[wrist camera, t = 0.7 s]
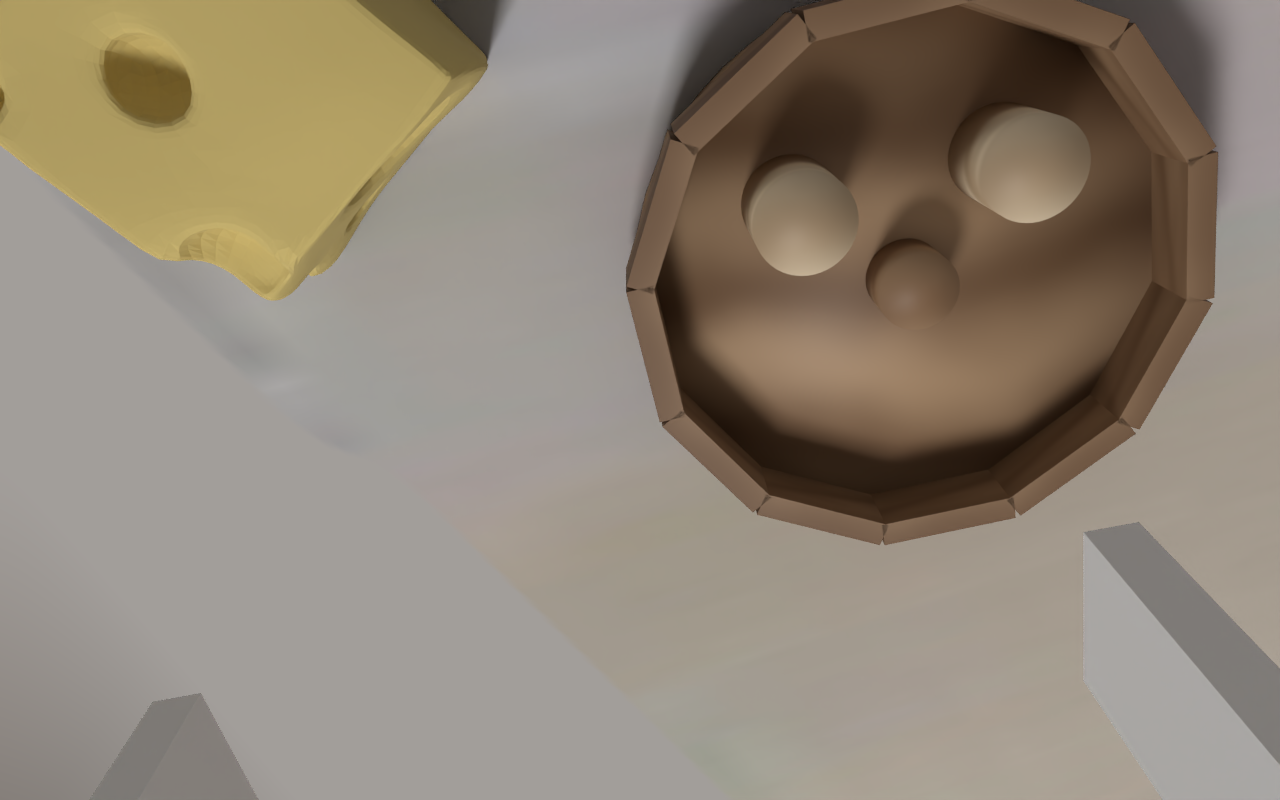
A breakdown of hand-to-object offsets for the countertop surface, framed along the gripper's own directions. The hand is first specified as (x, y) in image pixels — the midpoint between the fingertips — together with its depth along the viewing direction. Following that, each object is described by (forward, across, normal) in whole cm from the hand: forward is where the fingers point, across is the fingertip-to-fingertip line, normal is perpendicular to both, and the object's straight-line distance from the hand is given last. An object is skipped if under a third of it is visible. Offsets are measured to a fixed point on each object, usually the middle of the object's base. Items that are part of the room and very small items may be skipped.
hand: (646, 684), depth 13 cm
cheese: (+25, -10, +9) cm, 29 cm away
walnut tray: (+25, +10, -3) cm, 27 cm away
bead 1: (+23, +6, +1) cm, 24 cm away
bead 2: (+23, +14, +1) cm, 27 cm away
